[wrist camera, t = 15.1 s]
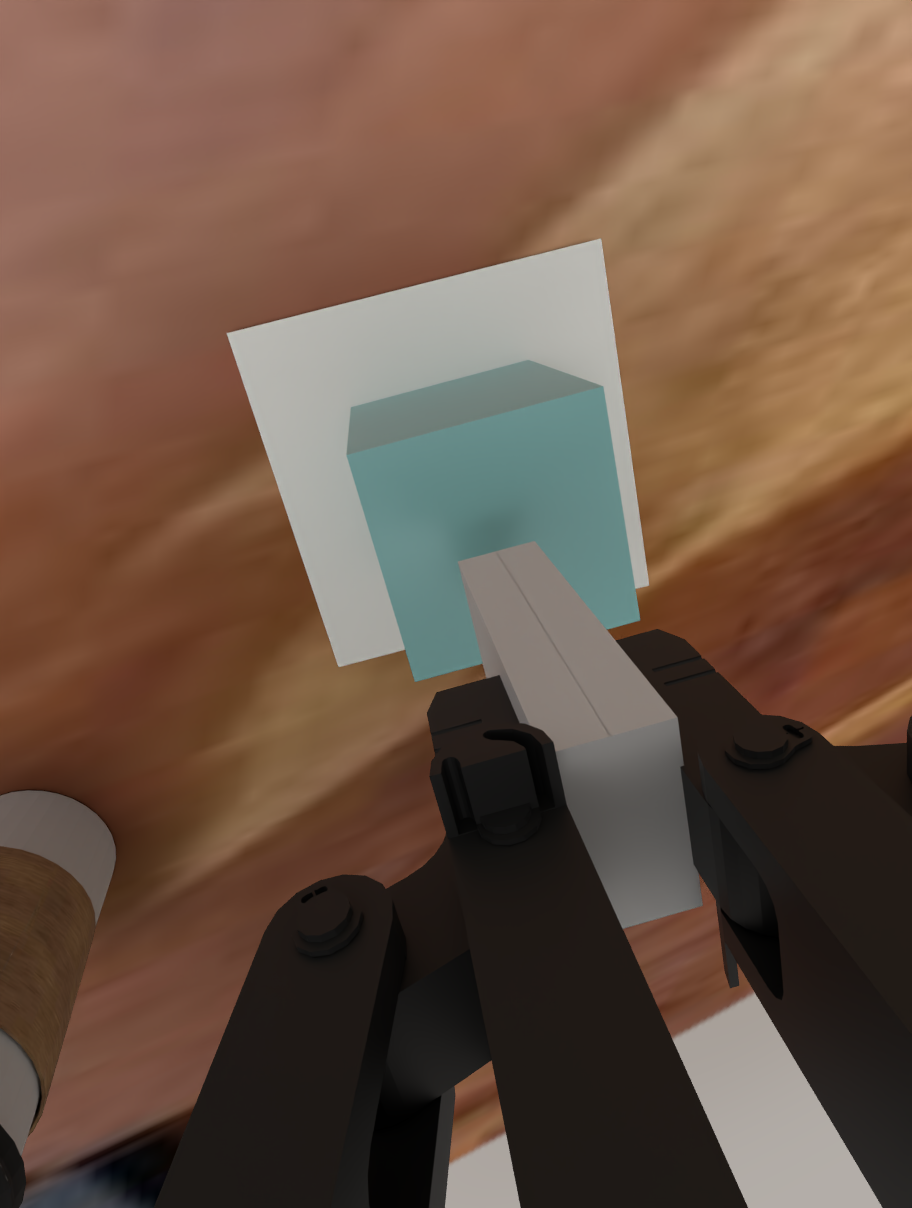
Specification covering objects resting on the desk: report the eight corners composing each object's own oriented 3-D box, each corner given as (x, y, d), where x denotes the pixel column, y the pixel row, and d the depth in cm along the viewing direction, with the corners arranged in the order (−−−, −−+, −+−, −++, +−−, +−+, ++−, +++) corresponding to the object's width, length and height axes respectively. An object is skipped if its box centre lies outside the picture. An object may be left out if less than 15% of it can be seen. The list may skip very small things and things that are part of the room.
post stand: (339, 655, 29) (331, 778, 21) (231, 332, 24) (174, 345, 17) (639, 576, 29) (735, 670, 22) (592, 240, 24) (693, 214, 17)
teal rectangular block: (399, 574, 27) (415, 681, 19) (350, 407, 24) (346, 455, 17) (561, 530, 27) (640, 620, 19) (528, 359, 24) (603, 385, 17)
